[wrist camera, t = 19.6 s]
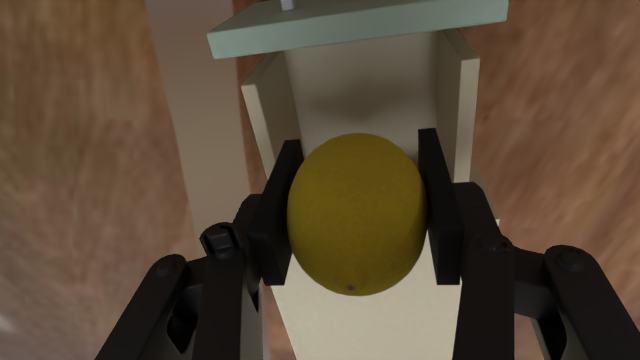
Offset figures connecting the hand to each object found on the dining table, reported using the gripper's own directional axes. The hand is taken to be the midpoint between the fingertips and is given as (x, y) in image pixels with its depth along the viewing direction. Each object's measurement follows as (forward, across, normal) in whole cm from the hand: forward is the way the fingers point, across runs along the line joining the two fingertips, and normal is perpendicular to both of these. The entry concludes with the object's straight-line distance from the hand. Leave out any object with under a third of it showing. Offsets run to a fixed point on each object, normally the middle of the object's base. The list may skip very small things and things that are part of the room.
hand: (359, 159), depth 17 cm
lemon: (+1, 0, 0) cm, 1 cm away
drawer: (+9, 0, +3) cm, 9 cm away
